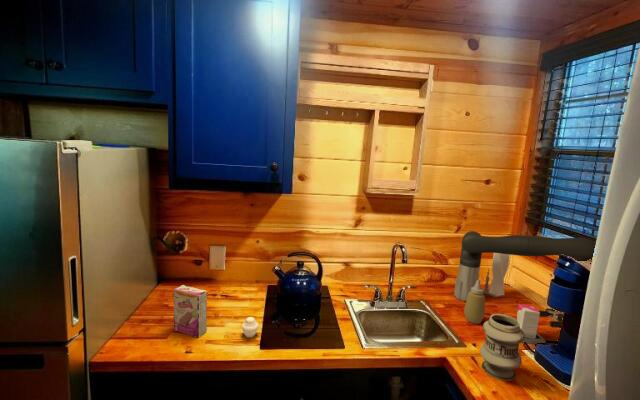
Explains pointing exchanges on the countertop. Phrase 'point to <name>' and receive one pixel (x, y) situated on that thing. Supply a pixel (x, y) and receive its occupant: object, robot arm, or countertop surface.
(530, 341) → the socket collar
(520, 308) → the supplement box
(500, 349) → the apothecary jar
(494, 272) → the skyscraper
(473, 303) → the squeeze bottle
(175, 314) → the candy bar box
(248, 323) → the white lidded pot
